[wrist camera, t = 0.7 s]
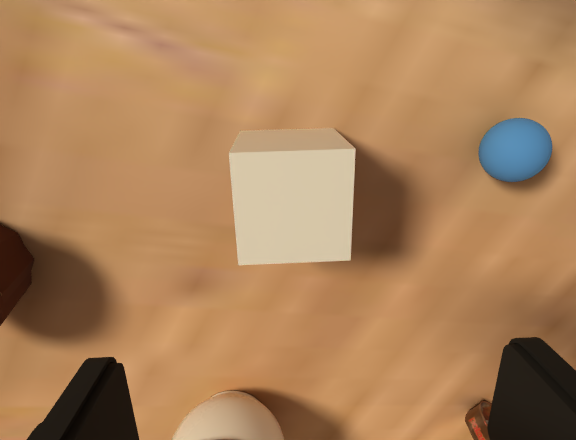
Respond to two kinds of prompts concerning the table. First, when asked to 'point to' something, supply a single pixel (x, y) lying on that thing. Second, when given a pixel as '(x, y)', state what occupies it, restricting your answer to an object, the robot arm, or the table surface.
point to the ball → (515, 149)
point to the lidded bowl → (229, 419)
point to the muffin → (13, 270)
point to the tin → (479, 420)
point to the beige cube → (292, 195)
